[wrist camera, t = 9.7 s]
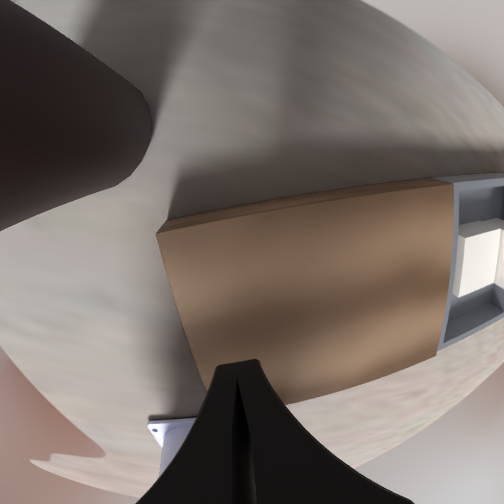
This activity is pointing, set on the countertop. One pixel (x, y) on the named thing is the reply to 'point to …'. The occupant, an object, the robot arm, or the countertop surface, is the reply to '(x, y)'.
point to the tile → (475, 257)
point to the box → (465, 211)
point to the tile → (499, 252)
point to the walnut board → (315, 283)
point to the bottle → (60, 119)
